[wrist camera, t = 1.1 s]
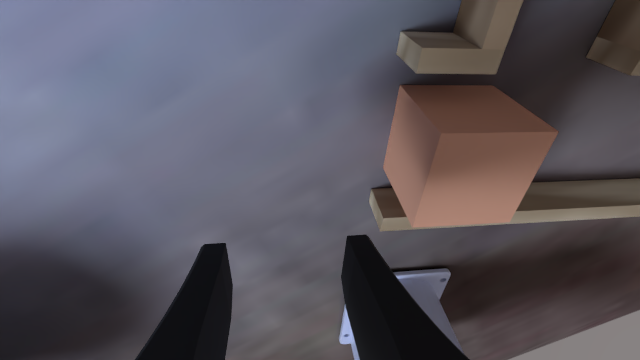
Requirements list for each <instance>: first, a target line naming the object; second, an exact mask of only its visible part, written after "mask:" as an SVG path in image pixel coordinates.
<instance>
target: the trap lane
mask: <svg viewBox="0 0 640 360" xmlns="http://www.w3.org/2000/svg"><path fill="white" fill-rule="evenodd" d="M522 3H523V0H462V1H461V5H460V9H459V12H458V16H457V20H456V23H455V27H454V31H453V33H446V32H409V31H401V32H400V38H399V43H398V48H397V55H398V56H399V57H400V58H401V59H402V60H403V61H404V62H405V63H406V64H407V65H408V66H409V67H410V68H411V69H412V70H413V71H414V72H415V73H416V74H496V73H497V70H498V67H499V65H500V62H501V59H502V56H503V54H504V51H505V48H506V46H507V43H508V40H509V38H510V35H511V32H512V30H513V27H514V24H515V22H516V19H517V16H518V13H519V11H520V8H521V5H522ZM586 58H588V59H591V60H593V61H596V62H598V63H601V64H603V65H605V66H608V67H610V68H613V69H615V70H618V71H620V72H623V73H625V74H627V75H630V76H640V0H615V2H614V4H613V6H612V8H611V10H610V12H609V14H608V16H607V18H606V20H605V21H604V23H603V25H602V27H601V29H600V31H599V33H598V35H597V37H596V39H595V41H594V43H593V45H592V46H591V48H590V50H589V52H588V54H587V56H586ZM369 203H370V205H371V208H372V211H373V213H374V216H375V219H376V221H377V224H378V226H379V229H380V231H394V230H411V229H429V228H446V227H464V226H481V225H498V224H516V223H533V222H551V221H568V220H586V219H603V218H621V217H638V216H640V178H635V179H610V180H584V181H559V182H533V183H531V184H530V186H529V188H528V190H527V191H526V193H525V195H524V197H523V199H522V201H521V202H520V204H519V206H518V208H517V210H516V212H515V214H514V215H513V217H512V219H511V221H510V222H506V223H488V224H470V225H452V226H434V227H416V228H412V226H411V224H410V222H409V220H408V218H407V216H406V214H405V212H404V210H403V208H402V205H401V203H400V201H399V199H398V197H397V195H396V193H395V191H394V189H393V188H381V189H371V193H370V199H369Z"/></svg>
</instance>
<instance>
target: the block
mask: <svg viewBox="0 0 640 360" xmlns="http://www.w3.org/2000/svg"><path fill="white" fill-rule="evenodd" d="M558 132H559V131H557V130H556V129H554V128H553V127H552V126H550V125H549V124H547V123H546V122H544V121H543V120H542V119H540V118H539V117H537V116H536V115H534V114H533V113H532V112H530V111H529V110H527V109H526V108H524V107H523V106H522V105H520V104H519V103H517V102H516V101H514V100H513V99H511V98H510V97H509V96H507V95H506V94H504V93H503V92H501V91H500V90H499V89H497V88H496V87H494V86H493V85H400V88H399V92H398V97H397V102H396V107H395V112H394V117H393V122H392V127H391V132H390V137H389V142H388V147H387V151H386V156H385V161H384V166H383V169H384V171H385V173H386V175H387V177H388V179H389V181H390V183H391V185H392V187H393V189H394V191H395V193H396V195H397V197H398V199H399V201H400V203H401V205H402V208H403V210H404V212H405V214H406V216H407V218H408V220H409V222H410V224H411V226H412V228H416V227H434V226H452V225H470V224H488V223H506V222H510V221H511V219H512V217H513V215H514V214H515V212H516V210H517V208H518V206H519V204H520V202H521V201H522V199H523V197H524V195H525V193H526V191H527V190H528V188H529V186H530V184H531V182H532V180H533V178H534V177H535V175H536V173H537V171H538V169H539V167H540V166H541V164H542V162H543V160H544V158H545V156H546V154H547V153H548V151H549V149H550V147H551V145H552V143H553V142H554V140H555V138H556V136H557V134H558Z"/></svg>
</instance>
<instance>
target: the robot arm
mask: <svg viewBox="0 0 640 360" xmlns="http://www.w3.org/2000/svg"><path fill="white" fill-rule="evenodd" d="M450 276H451V273H450V271H449V269H446V268H443V269H429V270H416V271H403V272H392V270H391V269H390V268H389V266H388V265H387V263H386V262H385V261H384V259H383V258H382V256H381V255H380V253H379V252H378V250H377V249H376V247H375V246H374V244H373V243H372V241H371V240H370V238H369V237H368V236H367V235H354V236H347V241H346V247H345V254H344V261H343V268H342V275H341V279H342V286H343V293H344V299H345V308H344V313H343V319H342V325H341V331H340V337H339V340H340V343H341V344H350V343H351V346H352V350H353V355H354V360H470V359H468V358H467V357H466V356H465V355H464V353H463V350H462V348H461V346H460V344H459V342H458V340H457V338H456V335H455V333H454V331H453V329H452V327H451V325H450V323H449V320H448V318H447V316H446V314H445V312H444V310H443V307H442V305H441V303H440V301H439V300H440V298H441V295H442V293H443V291H444V289H445V287H446V284H447V282H448V280H449V278H450ZM232 289H233V284H232V278H231V272H230V266H229V260H228V254H227V248H226V243H217V244H204V245H203V246H202V247H201V249H200V251H199V253H198V256H197V258H196V260H195V262H194V264H193V266H192V268H191V270H190V272H189V274H188V276H187V277H186V279H185V281H184V283H183V285H182V287H181V288H180V290H179V292H178V293H177V295H176V297H175V299H174V300H173V302H172V304H171V305H170V307H169V309H168V310H167V312H166V314H165V315H164V317H163V319H162V320H161V322H160V323H159V325H158V326H157V328H156V329H155V331H154V332H153V334H152V335H151V337H150V338H149V340H148V341H147V343H146V344H145V346H144V347H143V349H142V350H141V352H140V353H139V355H138V356H137V357H136V359H135V360H225V355H226V349H227V342H228V335H229V329H230V322H231V310H232Z"/></svg>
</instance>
